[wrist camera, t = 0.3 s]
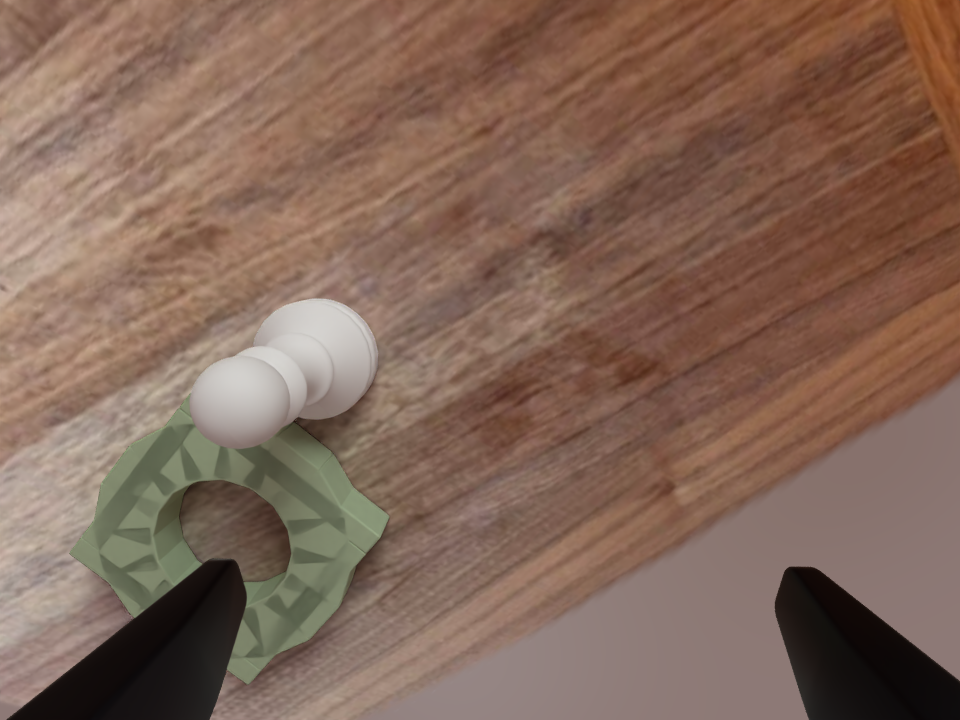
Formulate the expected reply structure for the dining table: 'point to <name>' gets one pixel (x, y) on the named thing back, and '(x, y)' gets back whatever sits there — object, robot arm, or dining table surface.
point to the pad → (273, 476)
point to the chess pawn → (286, 374)
